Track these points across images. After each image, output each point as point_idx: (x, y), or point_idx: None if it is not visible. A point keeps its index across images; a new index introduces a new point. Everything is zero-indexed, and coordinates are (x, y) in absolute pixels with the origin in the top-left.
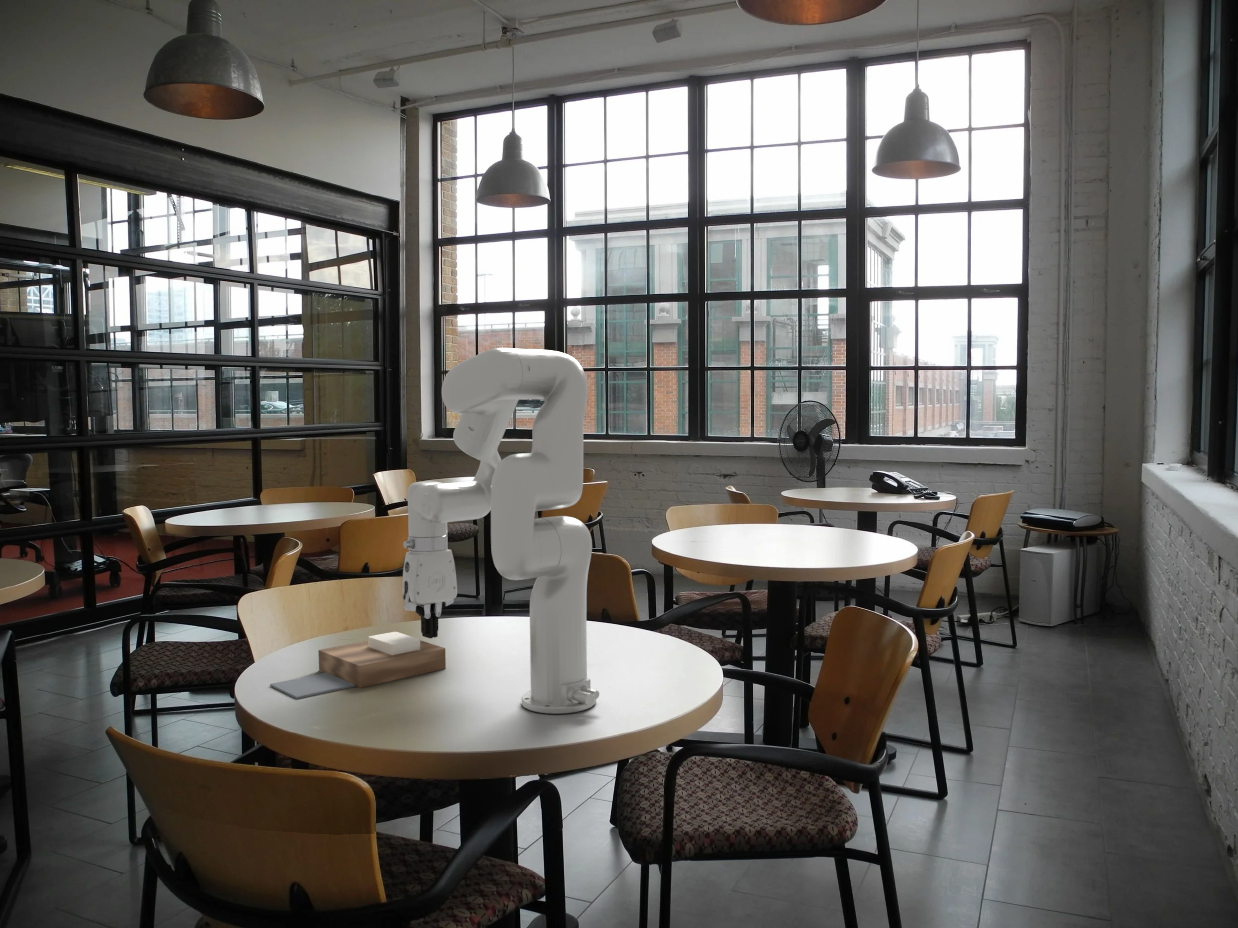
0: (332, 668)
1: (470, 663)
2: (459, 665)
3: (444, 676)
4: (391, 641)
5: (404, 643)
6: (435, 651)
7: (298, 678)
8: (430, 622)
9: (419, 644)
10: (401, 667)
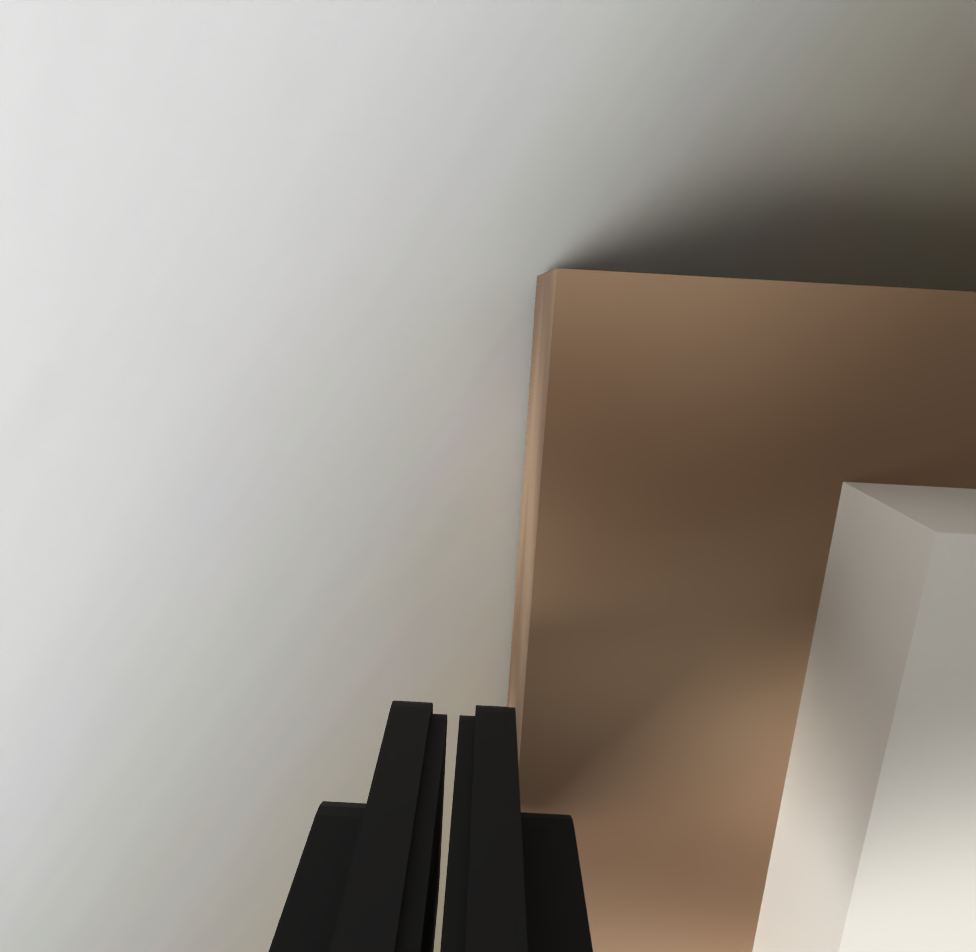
0: None
1: (205, 287)
2: (335, 310)
3: (711, 55)
4: None
5: None
6: (728, 278)
7: None
8: (522, 908)
9: (895, 501)
10: None
